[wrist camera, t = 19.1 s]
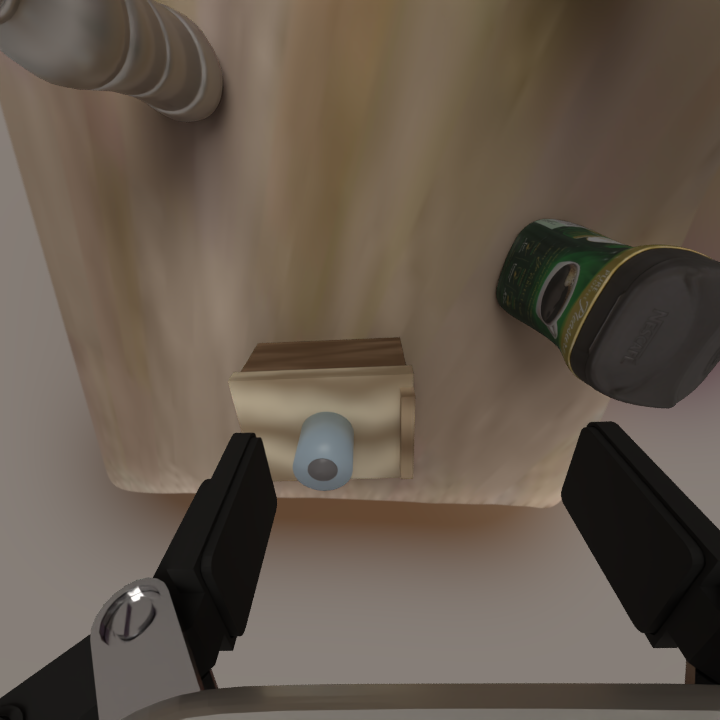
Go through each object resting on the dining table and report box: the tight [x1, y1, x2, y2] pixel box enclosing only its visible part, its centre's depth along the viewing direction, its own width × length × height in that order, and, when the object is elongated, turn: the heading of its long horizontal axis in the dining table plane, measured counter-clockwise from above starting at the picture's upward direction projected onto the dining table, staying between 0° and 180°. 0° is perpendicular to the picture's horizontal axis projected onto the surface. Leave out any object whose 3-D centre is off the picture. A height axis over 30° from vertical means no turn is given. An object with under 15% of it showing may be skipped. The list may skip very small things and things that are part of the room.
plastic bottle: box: [0, 0, 223, 122], centre depth 20 cm, size 6×7×20 cm
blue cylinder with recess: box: [293, 412, 354, 491], centre depth 32 cm, size 5×5×5 cm
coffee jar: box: [496, 219, 720, 408], centre depth 27 cm, size 10×8×19 cm
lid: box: [228, 365, 415, 481], centre depth 35 cm, size 13×17×3 cm
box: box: [241, 337, 406, 372], centre depth 39 cm, size 12×16×7 cm
